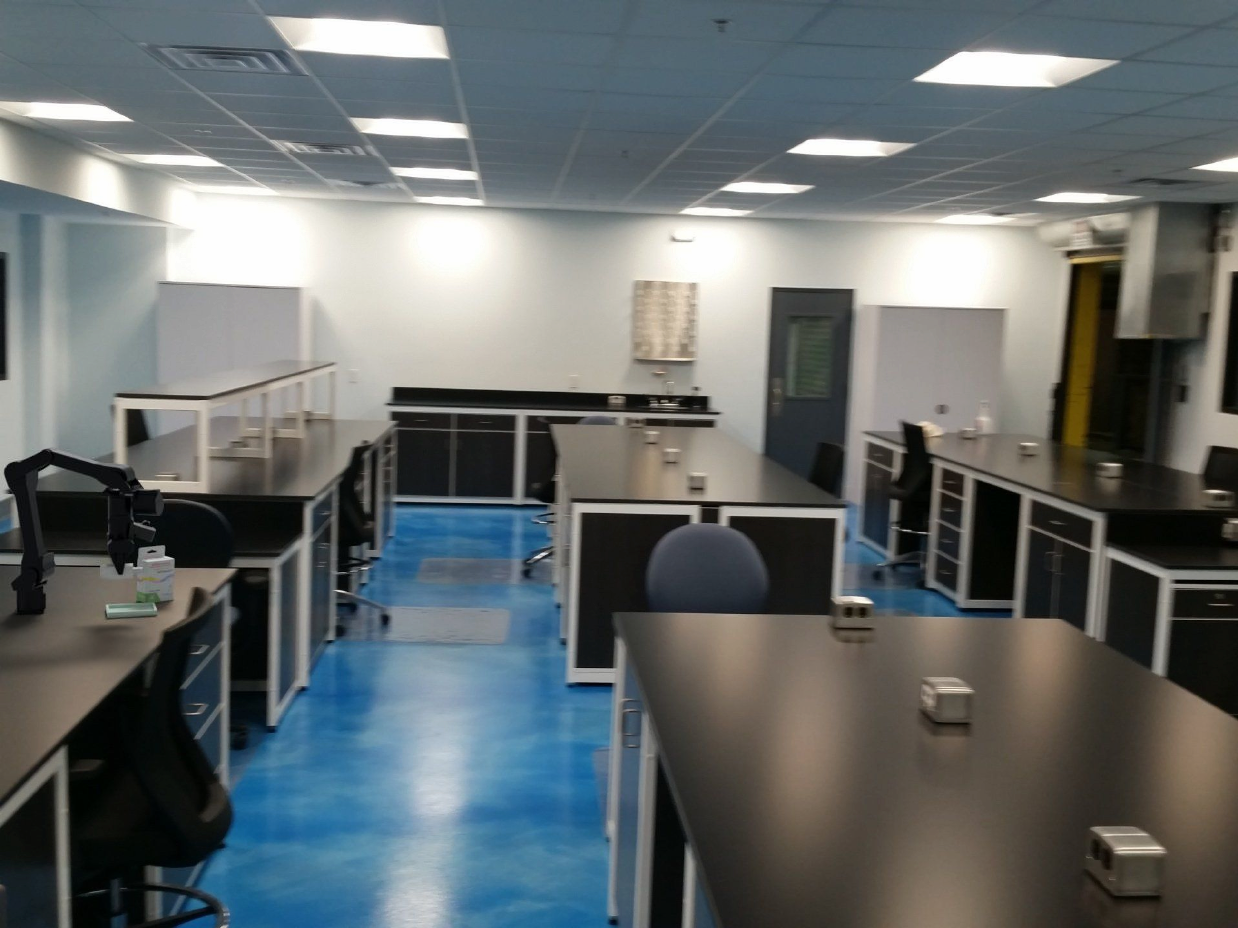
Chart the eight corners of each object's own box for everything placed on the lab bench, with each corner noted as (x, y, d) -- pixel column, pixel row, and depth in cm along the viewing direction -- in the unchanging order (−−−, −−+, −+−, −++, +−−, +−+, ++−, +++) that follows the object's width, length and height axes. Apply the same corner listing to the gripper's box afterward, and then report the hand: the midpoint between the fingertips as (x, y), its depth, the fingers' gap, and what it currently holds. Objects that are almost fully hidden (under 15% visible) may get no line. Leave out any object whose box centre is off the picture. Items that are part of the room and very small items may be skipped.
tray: (107, 617, 305) (107, 612, 305) (105, 609, 313) (105, 604, 313) (157, 615, 310) (157, 610, 310) (154, 607, 318) (154, 602, 318)
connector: (100, 579, 303) (100, 567, 303) (100, 576, 306) (100, 564, 306) (143, 577, 307) (143, 565, 307) (142, 574, 311) (142, 563, 310)
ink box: (146, 604, 321) (146, 550, 320) (136, 600, 324) (136, 548, 323) (174, 599, 328) (175, 547, 327) (164, 596, 331) (165, 544, 330)
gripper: (155, 519, 300) (155, 579, 301) (152, 507, 317) (152, 565, 318) (107, 520, 295) (107, 581, 297) (106, 508, 312) (107, 566, 314)
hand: (120, 573), depth 307 cm, fingers closed on connector, 4 cm apart
